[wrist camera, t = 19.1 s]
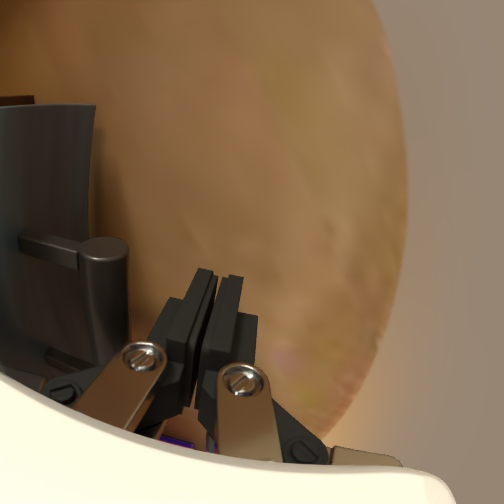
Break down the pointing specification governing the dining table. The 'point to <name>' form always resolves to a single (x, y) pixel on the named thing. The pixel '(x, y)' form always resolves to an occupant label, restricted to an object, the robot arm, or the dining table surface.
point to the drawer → (55, 247)
